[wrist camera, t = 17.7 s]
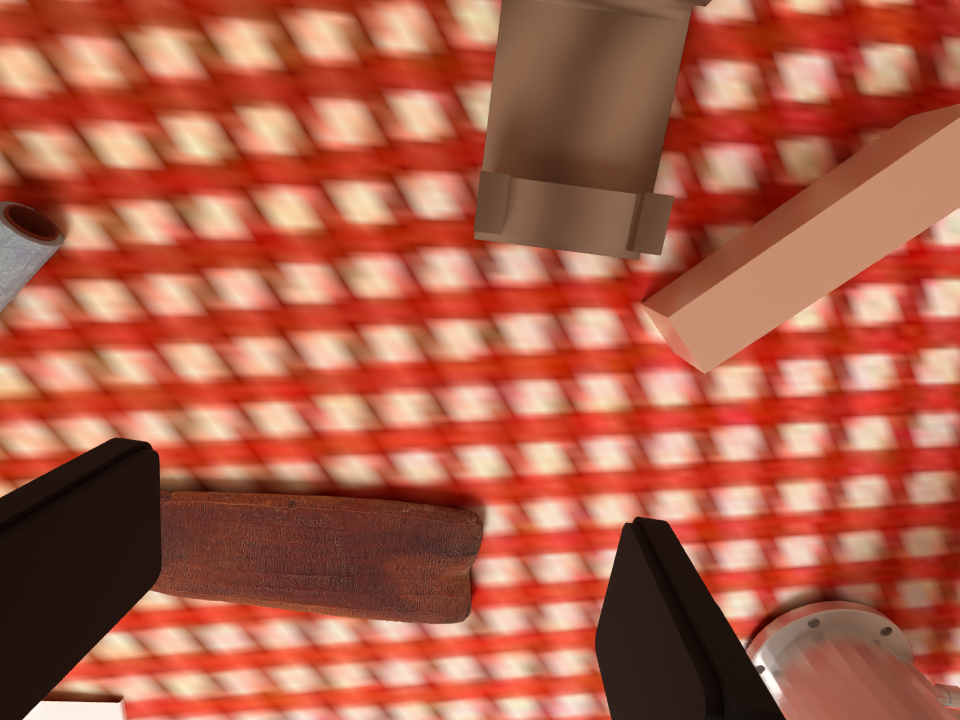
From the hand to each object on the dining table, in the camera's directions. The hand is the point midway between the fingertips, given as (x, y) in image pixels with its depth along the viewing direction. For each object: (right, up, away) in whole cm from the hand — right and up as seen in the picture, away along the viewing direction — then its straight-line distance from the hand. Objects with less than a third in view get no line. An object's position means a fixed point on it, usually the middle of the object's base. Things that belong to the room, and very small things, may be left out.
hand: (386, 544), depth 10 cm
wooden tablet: (-12, -15, +28) cm, 34 cm away
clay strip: (+21, +11, +20) cm, 31 cm away
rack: (+7, +18, +18) cm, 27 cm away
